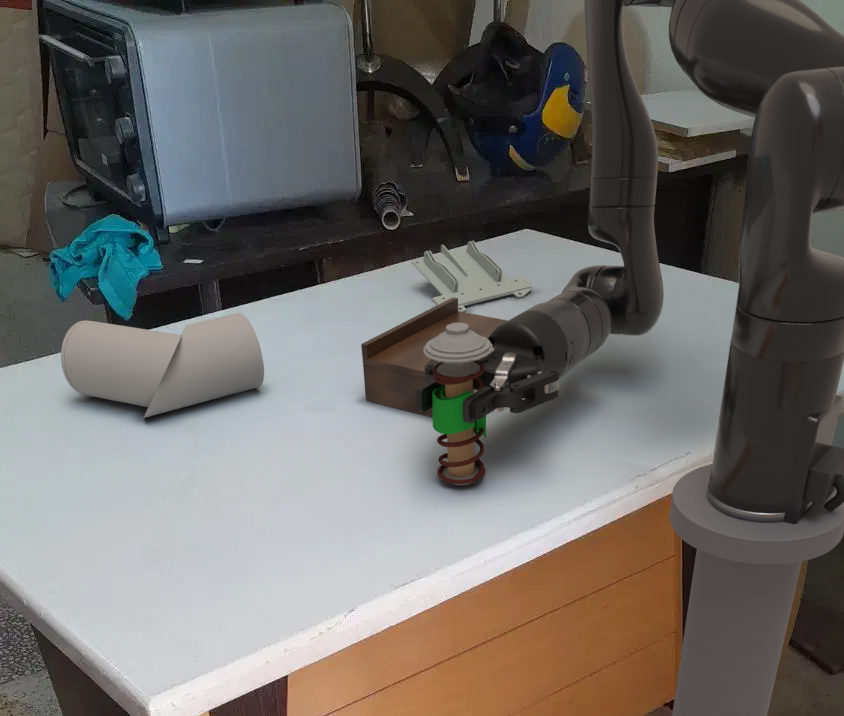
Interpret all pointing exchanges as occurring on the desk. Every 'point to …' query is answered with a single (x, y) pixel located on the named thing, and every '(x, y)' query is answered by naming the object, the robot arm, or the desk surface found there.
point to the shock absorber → (458, 401)
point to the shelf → (411, 354)
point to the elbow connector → (163, 362)
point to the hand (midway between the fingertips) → (442, 406)
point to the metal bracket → (468, 276)
